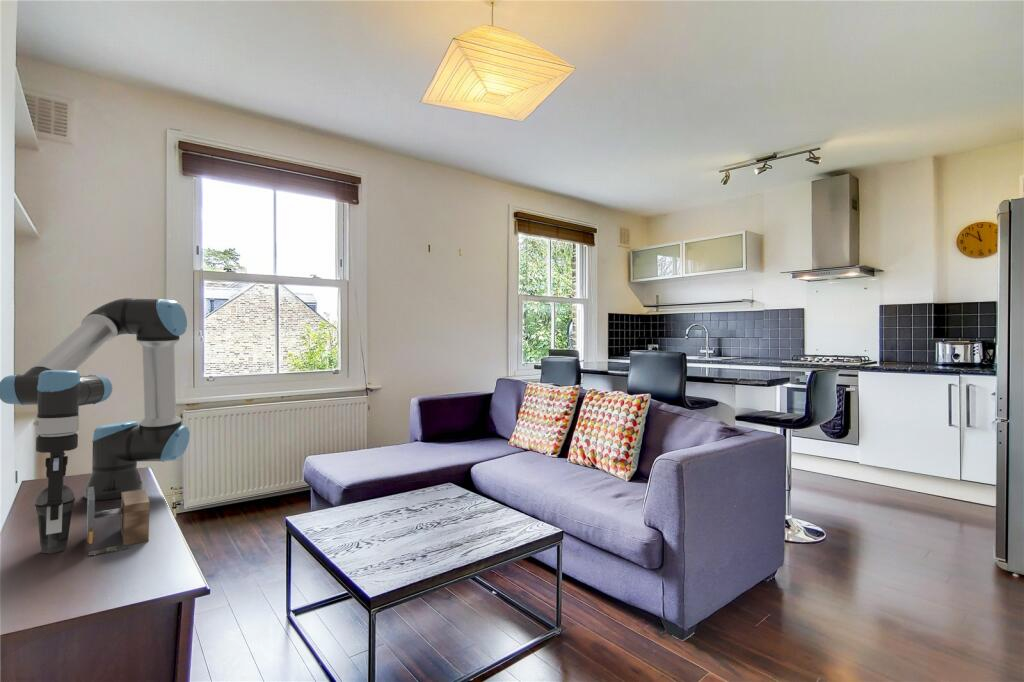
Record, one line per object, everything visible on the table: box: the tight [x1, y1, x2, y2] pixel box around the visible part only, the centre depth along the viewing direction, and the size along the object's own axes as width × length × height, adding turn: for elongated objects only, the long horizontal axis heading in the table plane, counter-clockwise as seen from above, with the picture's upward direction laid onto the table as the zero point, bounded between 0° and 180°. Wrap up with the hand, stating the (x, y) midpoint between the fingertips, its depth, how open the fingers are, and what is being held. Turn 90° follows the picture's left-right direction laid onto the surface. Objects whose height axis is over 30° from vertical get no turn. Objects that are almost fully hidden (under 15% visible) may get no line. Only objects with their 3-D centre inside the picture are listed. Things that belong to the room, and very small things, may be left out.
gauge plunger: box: [86, 486, 123, 545], centre depth 128 cm, size 10×16×10 cm, turn 41°
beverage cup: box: [34, 484, 76, 554], centre depth 122 cm, size 7×7×20 cm
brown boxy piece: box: [88, 488, 151, 557], centre depth 128 cm, size 12×17×10 cm
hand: (54, 526), depth 122 cm, fingers open, 9 cm apart
